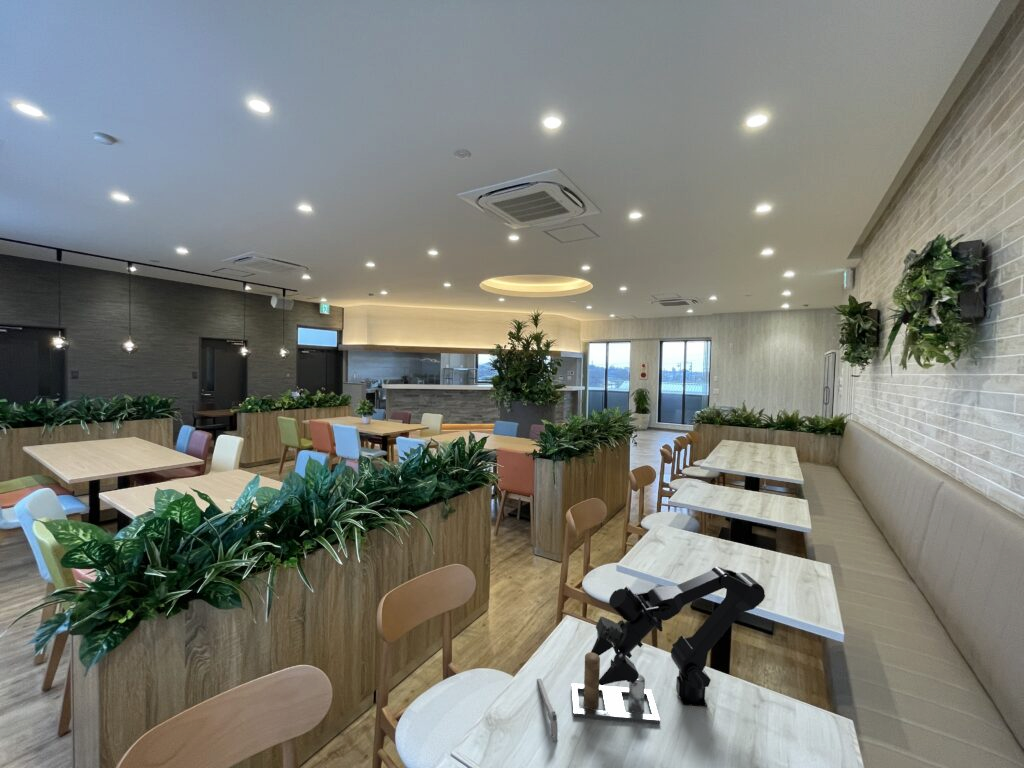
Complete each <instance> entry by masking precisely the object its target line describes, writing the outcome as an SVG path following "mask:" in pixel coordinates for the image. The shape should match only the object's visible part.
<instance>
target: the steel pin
mask: <svg viewBox="0 0 1024 768" xmlns="http://www.w3.org/2000/svg"><path fill="white" fill-rule="evenodd" d="M645 680H646V679H645V677H644V675H642V674H640V673H639V676H638V679H637V680H636V681H635V682H634V683H633V684H632V683H631V682H628V688H629V696H628V703H627V704H628V708H629V710H630V711H631V712H632V713H637V714H642V713H643V711H645V710H644V709H645V697H644V690H645V689H646V688H645V685H646V681H645Z"/></svg>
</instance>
